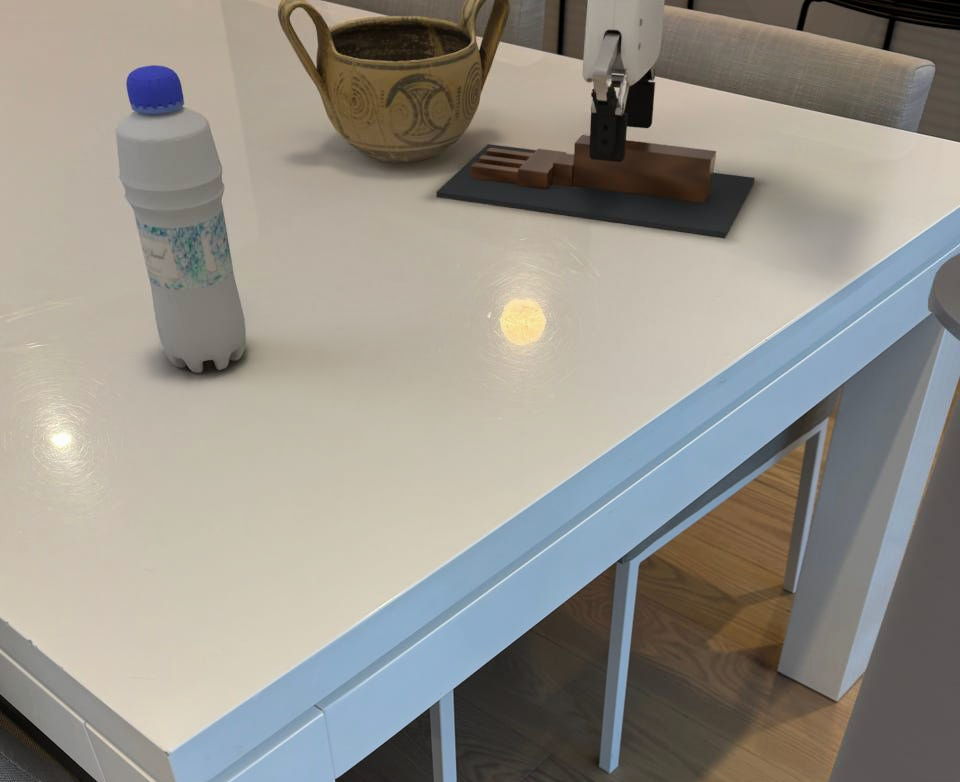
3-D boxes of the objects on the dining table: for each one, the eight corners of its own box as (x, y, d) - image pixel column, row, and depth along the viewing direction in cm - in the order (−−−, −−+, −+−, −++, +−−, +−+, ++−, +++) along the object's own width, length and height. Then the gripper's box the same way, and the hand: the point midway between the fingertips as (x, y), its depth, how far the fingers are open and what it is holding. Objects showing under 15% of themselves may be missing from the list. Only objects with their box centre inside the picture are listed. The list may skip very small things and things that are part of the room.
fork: (714, 187, 103) (720, 144, 101) (700, 210, 99) (706, 166, 97) (490, 158, 110) (490, 117, 107) (469, 179, 106) (468, 136, 103)
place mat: (754, 182, 106) (755, 177, 105) (725, 237, 96) (726, 232, 96) (487, 148, 113) (487, 143, 113) (436, 196, 104) (436, 191, 103)
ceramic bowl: (315, 195, 104) (296, 21, 94) (281, 138, 116) (261, -22, 106) (531, 166, 109) (535, -2, 99) (477, 115, 121) (476, -40, 111)
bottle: (147, 354, 81) (78, 64, 68) (226, 328, 84) (176, 45, 71) (187, 390, 77) (122, 90, 64) (269, 361, 80) (224, 69, 67)
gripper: (618, -94, 96) (608, 111, 108) (558, -56, 84) (554, 169, 96) (701, -91, 94) (682, 118, 106) (652, -52, 82) (636, 178, 94)
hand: (621, 142), depth 101 cm, fingers open, 9 cm apart
